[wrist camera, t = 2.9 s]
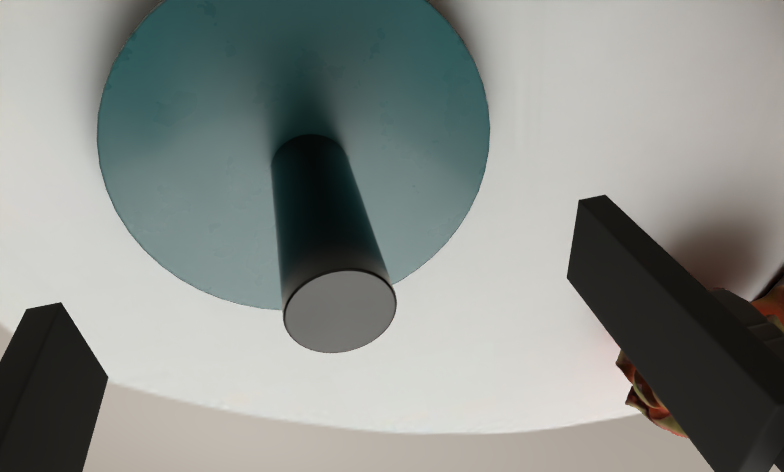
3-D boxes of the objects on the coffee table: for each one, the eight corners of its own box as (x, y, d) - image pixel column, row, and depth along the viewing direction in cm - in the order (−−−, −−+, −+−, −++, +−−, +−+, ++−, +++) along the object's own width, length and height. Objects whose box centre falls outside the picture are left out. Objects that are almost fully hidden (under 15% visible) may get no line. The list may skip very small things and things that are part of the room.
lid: (108, 283, 21) (42, 491, 14) (97, -111, 14) (-48, -82, 7) (422, 299, 25) (488, 463, 18) (533, 7, 18) (706, 97, 11)
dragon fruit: (568, 300, 30) (716, 267, 34) (588, 446, 30) (734, 395, 34) (703, 317, 22) (874, 271, 26) (729, 515, 22) (896, 437, 26)
